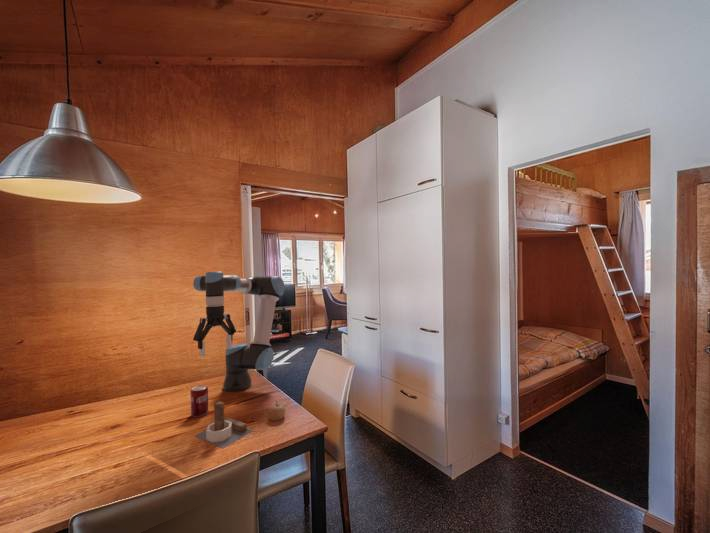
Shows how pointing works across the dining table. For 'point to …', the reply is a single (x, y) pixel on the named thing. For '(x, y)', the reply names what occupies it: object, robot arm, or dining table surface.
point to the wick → (237, 425)
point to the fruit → (276, 412)
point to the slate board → (226, 442)
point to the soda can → (199, 401)
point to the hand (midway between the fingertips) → (216, 352)
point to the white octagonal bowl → (219, 432)
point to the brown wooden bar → (219, 415)
